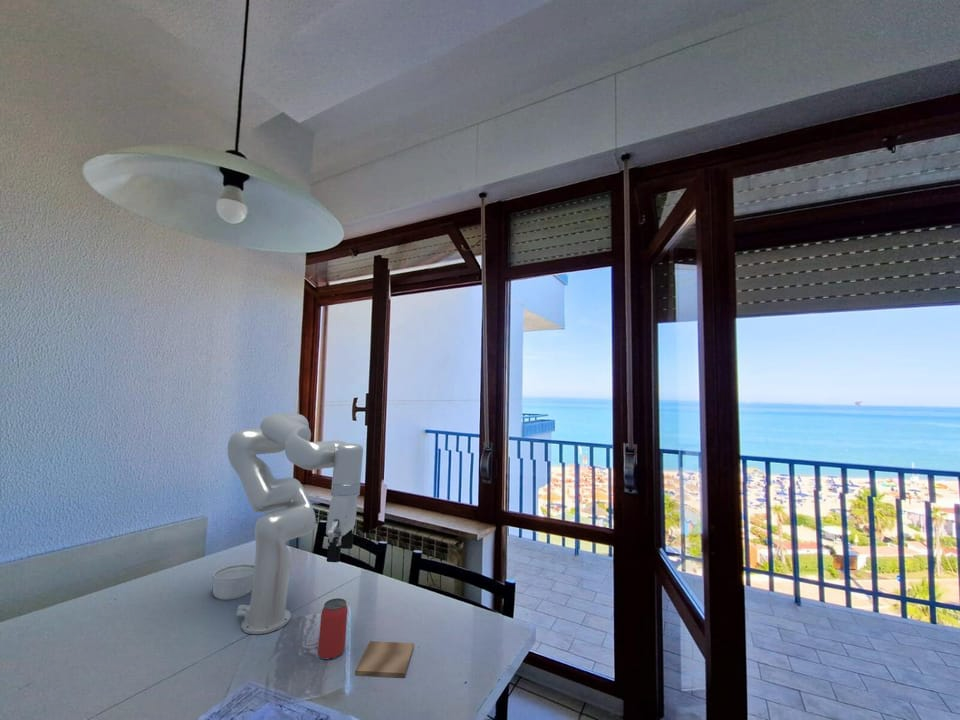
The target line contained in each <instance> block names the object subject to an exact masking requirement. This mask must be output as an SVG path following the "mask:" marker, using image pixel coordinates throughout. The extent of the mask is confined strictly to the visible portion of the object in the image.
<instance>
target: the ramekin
mask: <svg viewBox="0 0 960 720" xmlns="http://www.w3.org/2000/svg"><path fill="white" fill-rule="evenodd" d="M254 567H255V563H254V564H253V563H247V562H245V563H236V564H230V565H226V566H222V567H221V568H219V569H217V570H215V571H214V572H213V574H212V592H213V594H212V595H213V596H214V597H215V598H216V599H218V600H224V601H227V600H230V601H231V600H233V599H234V600H235V599H239V598H241V597H245V596H246V595H248V594H249V593H251V592H252V585H253V576H254Z"/></svg>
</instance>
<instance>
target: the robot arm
mask: <svg viewBox="0 0 960 720" xmlns="http://www.w3.org/2000/svg"><path fill="white" fill-rule="evenodd" d="M309 425H310V423H309V421H308V419H307V418H306V417H305V415H302V414H300V413H272V414H269V415H267V416H265V417H264V418H263V419H262V420H261V422H260V425H259V428H246V429H241V430H238V431H237V432H234V433H233V434H232V435H230V437H229V440H228V441H227V442H228V443H227V450H226V451H227V456H228V461H229V463H230V465H231V467H232V468H233V470H234V472H235V473H236V475H237V476H238V478H239V480H240V482H241V485H242V488H243V490H244V493H245V495H246V498H247V500H248V503H249V506H250V507H251V509H252V510H253V511H254V512H256V513H261V514H262V513H264V514H262V515H261V517H259V518H258V519H257V521H256V523H255V526H254V540H255V557H254V559H255V560H254V565H255V567H254V576H253V585H252V590H251V594H250V595H251V596H250V603H249V604H248V605H247V604H240V605H238V607H237V611H236V616H238V617H244V619H243V620H242V622H241V630H242V631H243V632H244V633H247V634H251V635H262V634H263V635H264V634H268V633H272V632H275V631H277V630H279V629H282V628H283V627H285V626H286V625H287V624H288V623H289V622H290V620H291V616H292V615H291V611H289V610H288V609H287V600H288V599H287V598H288V588H289V581H290V571H291V570H290V569H291V552H290V550H289V548H288V547H287V546H286V542H289V541H291V540H293V539H297V538H300V537H305V536H306V535H308V534H310V533H311V532H312V531H313V530H314V528H315V525H316V521H317V520H316V513H315V511H314V507H313V506H312V504H311V501H310V500H309V497H308V494H307V493H306V490H305V488H304V486H303V484H302V483H301V482H300V480H298V479H296V478H295V477H282V478H276V477H274V475H273V473H272V470H271V468H270V467H269V465H268V464H267V463H266V462H265V461H264V460H263V459H261V458H259V457H257V456H256V455H266V454H267V455H269V454H278V453H281V452H284V453H285V456H286V458H287V460H288V461H289V462H290V463H292V464H294V465H295V466H297V467H298V468H299V467H300V468H301V469H303V470H307V471H314V470H315V471H316V470H322V469H330V468H333V469H332V479H331V491H330V496H331V500H330V504H329V508H328V514H327V522H326V529H325V534H326V536H327V537H328V538H327V551H326V553H327V554H326V562H327V563H339V562H340V560H341V549H342V550H346V549H347V550H352V549H353V544H354V532H355V525H356V520H357V519H356V518H357V507H358V504H357V503H358V496H360V494H361V493H360V492H361V481H362V479H361V478H362V469H363V467H362V466H363V456H364V455H363V454H364V448H363V445H361V444H360V443H348V442H344V441H342V440H341V441H340V440H325V441H324V440H323V441H311V438H312V432H311V429H310V426H309Z"/></svg>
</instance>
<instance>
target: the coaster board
mask: <svg viewBox="0 0 960 720" xmlns="http://www.w3.org/2000/svg"><path fill="white" fill-rule="evenodd" d="M414 646H415V643H413V642H398V641H397V642H395V641H381V640H380V641H375V640H370V641H369V643H368V645H367V647H366V648H365V650H364V652H363V655H362V656H361V658H360V661H359V663H358V664H357V667H356V668H355V670H354V676H361V677H362V676H363V677H364V676H365V677H382V678H401V679H405V677H406V674H407V671H408V667H409V665H410V661H411V658H412V654H413V651H414V648H415V647H414Z"/></svg>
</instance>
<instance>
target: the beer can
mask: <svg viewBox="0 0 960 720" xmlns="http://www.w3.org/2000/svg"><path fill="white" fill-rule="evenodd" d="M348 610H349V609H348V606H347V601H346V599H344V598H339V597H337V598H332V599H329V600H327V601H325V602H324V605H323V607H322V610H321V614H320V621H319V623H320V624H319V633H318V634H319V635H318V645H317V655H318V656H319V657H320V658H321V657H322V658H321V659H323V658H333V659H335V658H334V657H336V658H338V657H339V656H341V655H342V654H343V652H344V651H345V647H346V646H345V645H346V634H347V623H348ZM340 654H341V655H340ZM337 656H338V657H337Z"/></svg>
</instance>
